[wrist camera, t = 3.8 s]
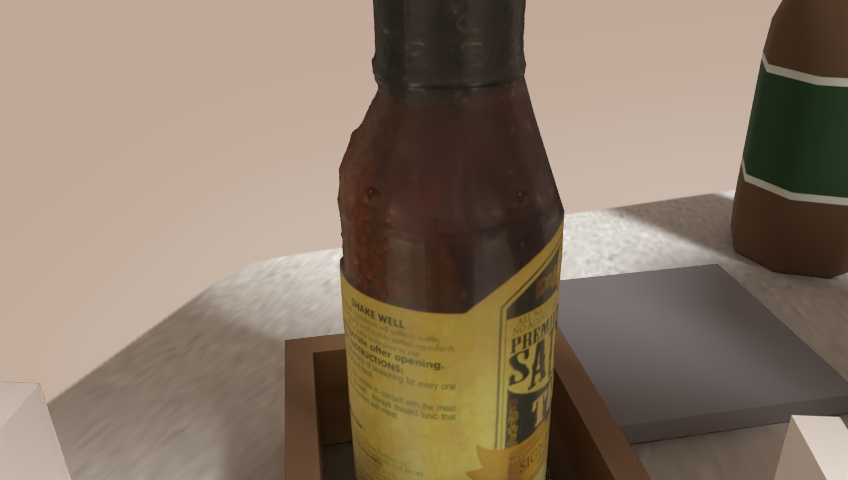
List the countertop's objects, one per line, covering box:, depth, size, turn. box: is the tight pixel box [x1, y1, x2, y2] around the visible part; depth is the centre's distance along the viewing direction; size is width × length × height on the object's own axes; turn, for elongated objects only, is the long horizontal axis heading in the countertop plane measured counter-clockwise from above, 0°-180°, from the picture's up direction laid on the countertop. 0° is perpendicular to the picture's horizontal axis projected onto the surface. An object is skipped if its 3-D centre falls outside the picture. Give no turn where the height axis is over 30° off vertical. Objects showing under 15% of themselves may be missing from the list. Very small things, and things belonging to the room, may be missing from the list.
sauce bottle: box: [337, 0, 564, 480], centre depth 21 cm, size 7×6×20 cm
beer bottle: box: [731, 0, 848, 279], centre depth 37 cm, size 8×8×24 cm
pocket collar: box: [285, 325, 651, 480], centre depth 24 cm, size 10×11×4 cm
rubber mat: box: [557, 264, 848, 444], centre depth 34 cm, size 11×11×1 cm
